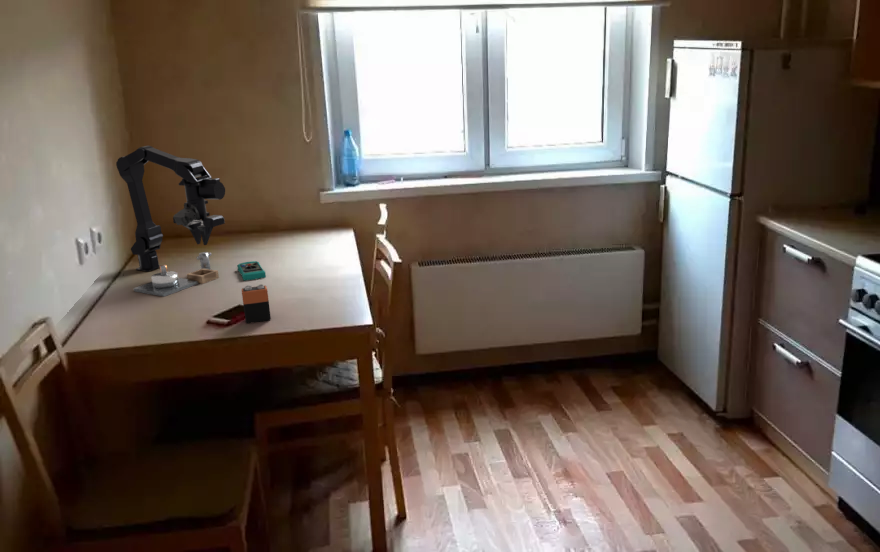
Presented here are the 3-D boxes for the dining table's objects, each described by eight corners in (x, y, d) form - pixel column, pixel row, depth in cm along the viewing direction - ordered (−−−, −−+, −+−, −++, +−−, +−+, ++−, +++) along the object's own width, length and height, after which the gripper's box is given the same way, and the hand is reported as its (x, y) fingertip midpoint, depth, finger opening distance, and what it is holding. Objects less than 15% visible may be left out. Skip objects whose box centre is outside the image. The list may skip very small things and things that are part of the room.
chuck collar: (179, 285, 248) (176, 267, 246) (153, 289, 245) (150, 271, 243) (177, 272, 262) (174, 255, 260) (152, 276, 259) (149, 259, 257)
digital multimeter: (259, 267, 269) (258, 259, 268) (266, 278, 255) (265, 270, 255) (237, 271, 266) (236, 262, 265) (243, 282, 253) (242, 273, 252)
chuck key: (196, 275, 262) (193, 255, 260) (210, 270, 267) (207, 250, 265) (202, 276, 261) (199, 256, 259) (216, 271, 266) (213, 251, 264)
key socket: (187, 281, 256) (186, 274, 255) (204, 275, 261) (203, 268, 260) (202, 283, 252) (201, 276, 251) (218, 277, 258) (217, 270, 257)
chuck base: (133, 291, 248) (133, 288, 248) (168, 278, 259) (168, 276, 259) (163, 296, 241) (163, 293, 241) (198, 283, 252) (197, 280, 252)
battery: (245, 319, 217) (240, 285, 215) (269, 315, 219) (265, 281, 216) (245, 324, 213) (241, 289, 211) (271, 320, 215) (266, 286, 212)
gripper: (156, 201, 255) (164, 247, 259) (196, 205, 245) (203, 253, 250) (183, 195, 264) (190, 239, 268) (222, 198, 254) (228, 244, 259)
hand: (202, 244), depth 261 cm, fingers open, 3 cm apart
